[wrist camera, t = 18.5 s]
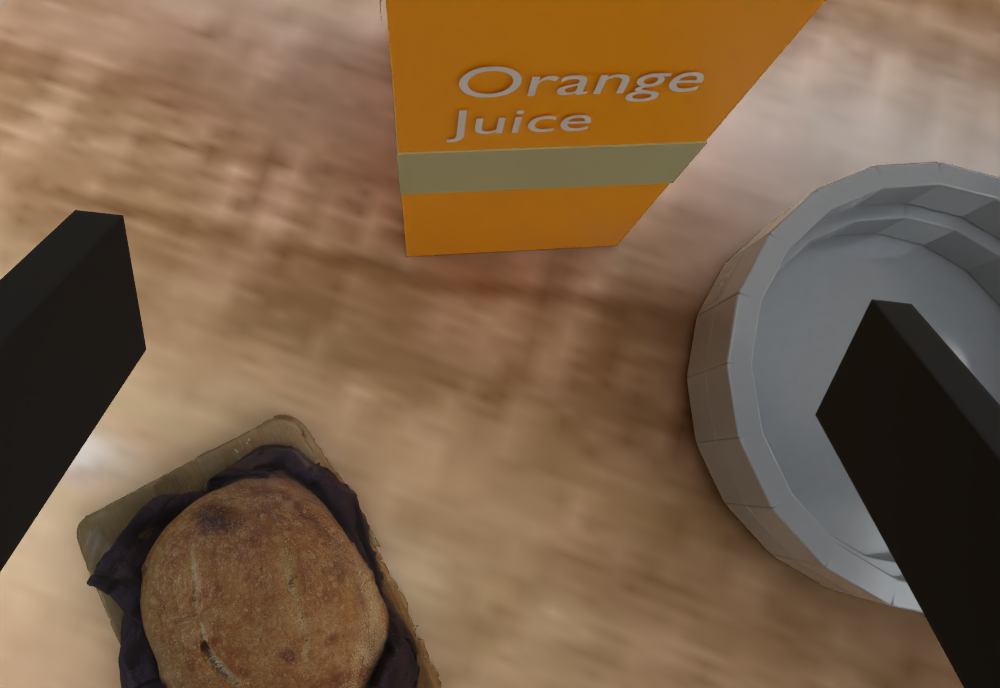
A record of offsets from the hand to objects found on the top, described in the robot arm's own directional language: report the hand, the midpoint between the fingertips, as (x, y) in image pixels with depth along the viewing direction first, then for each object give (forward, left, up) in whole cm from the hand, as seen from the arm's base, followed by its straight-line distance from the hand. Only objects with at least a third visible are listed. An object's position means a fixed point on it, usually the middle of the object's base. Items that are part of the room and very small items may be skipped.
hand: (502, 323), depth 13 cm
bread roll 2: (+9, +4, -12) cm, 15 cm away
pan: (-13, +6, -12) cm, 19 cm away
